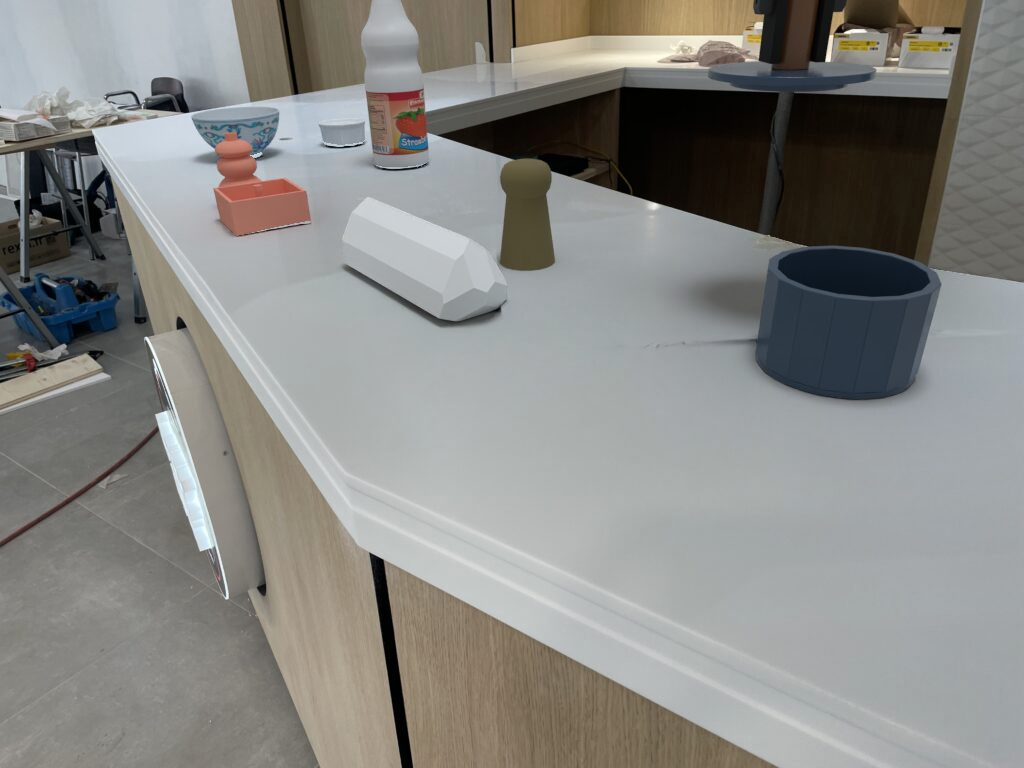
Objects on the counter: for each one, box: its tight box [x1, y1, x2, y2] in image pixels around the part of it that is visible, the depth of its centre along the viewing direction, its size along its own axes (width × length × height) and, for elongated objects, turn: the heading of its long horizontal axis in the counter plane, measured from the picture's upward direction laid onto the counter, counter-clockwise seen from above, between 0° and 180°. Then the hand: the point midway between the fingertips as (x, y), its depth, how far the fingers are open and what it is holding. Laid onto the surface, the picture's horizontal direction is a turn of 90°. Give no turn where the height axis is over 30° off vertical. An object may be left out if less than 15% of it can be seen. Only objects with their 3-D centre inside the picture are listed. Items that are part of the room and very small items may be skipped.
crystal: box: [341, 196, 509, 322], centre depth 72 cm, size 7×7×24 cm
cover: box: [707, 0, 877, 93], centre depth 56 cm, size 12×12×9 cm
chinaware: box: [190, 106, 280, 155], centre depth 133 cm, size 15×15×8 cm
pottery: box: [213, 132, 312, 237], centre depth 97 cm, size 18×10×10 cm, turn 32°
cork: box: [499, 158, 556, 272], centre depth 75 cm, size 6×6×11 cm
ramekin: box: [317, 117, 366, 145], centre depth 142 cm, size 9×9×4 cm
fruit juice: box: [360, 0, 430, 167], centre depth 118 cm, size 9×9×28 cm
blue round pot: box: [755, 245, 942, 400], centre depth 55 cm, size 11×11×8 cm
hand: (791, 60), depth 57 cm, fingers closed on cover, 3 cm apart
